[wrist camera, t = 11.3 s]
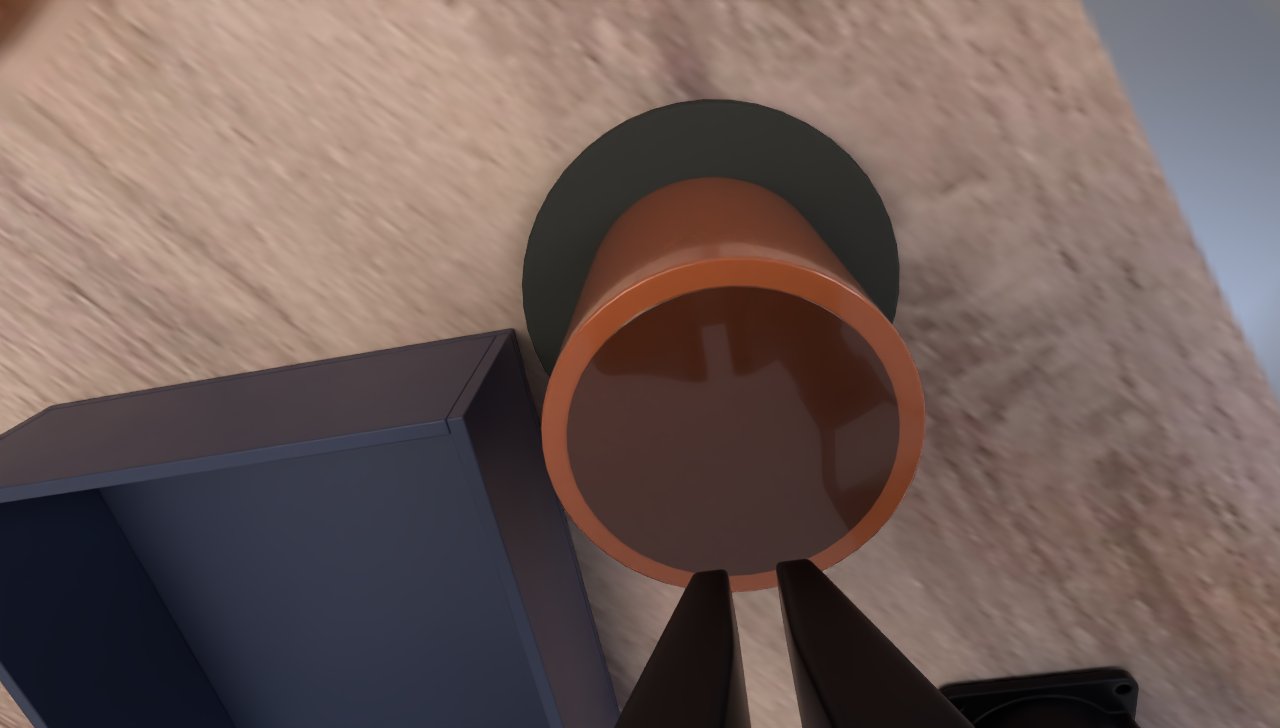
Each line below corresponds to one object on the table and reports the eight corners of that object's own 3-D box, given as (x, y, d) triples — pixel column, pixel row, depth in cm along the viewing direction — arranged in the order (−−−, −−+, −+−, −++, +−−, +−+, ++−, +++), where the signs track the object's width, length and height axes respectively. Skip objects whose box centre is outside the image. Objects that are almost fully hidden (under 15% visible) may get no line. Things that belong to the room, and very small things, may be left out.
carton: (621, 719, 27) (610, 872, 22) (254, 757, 28) (166, 907, 23) (513, 327, 20) (462, 416, 15) (50, 405, 22) (-129, 508, 17)
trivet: (881, 62, 17) (890, 62, 16) (900, 422, 21) (908, 435, 20) (484, 140, 18) (476, 144, 18) (571, 469, 22) (568, 483, 21)
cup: (821, 154, 17) (921, 222, 10) (841, 390, 20) (933, 572, 13) (562, 202, 18) (496, 296, 11) (614, 425, 21) (585, 613, 14)
